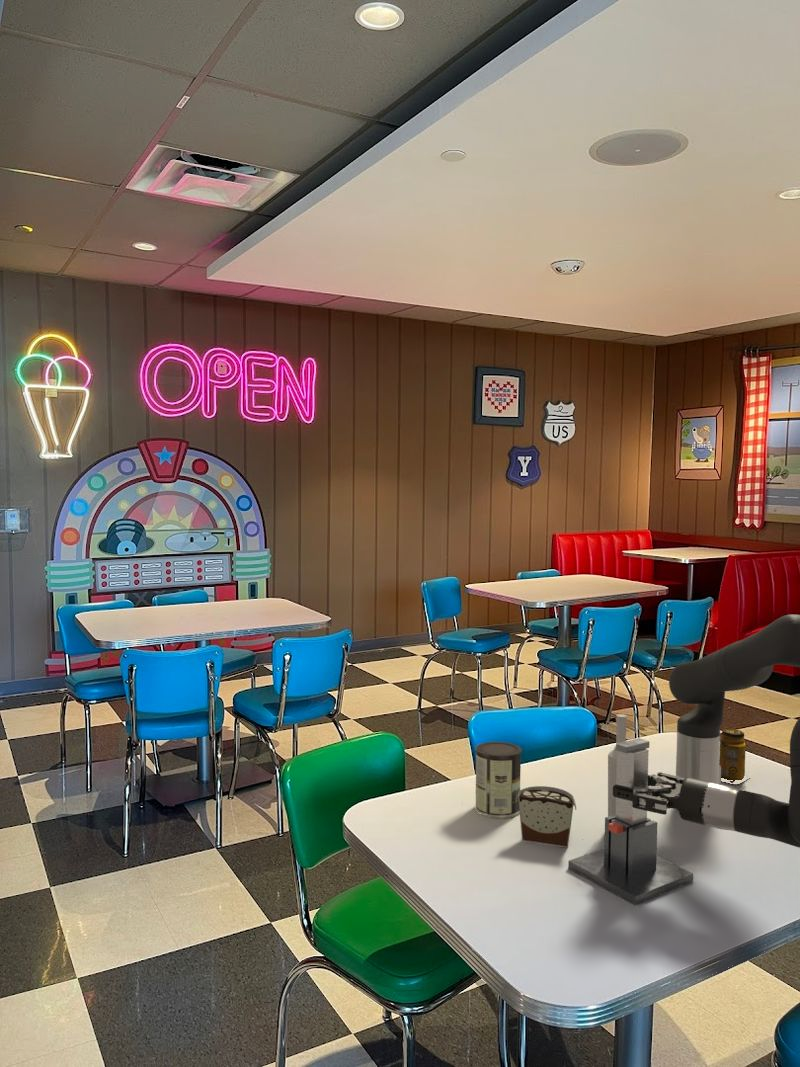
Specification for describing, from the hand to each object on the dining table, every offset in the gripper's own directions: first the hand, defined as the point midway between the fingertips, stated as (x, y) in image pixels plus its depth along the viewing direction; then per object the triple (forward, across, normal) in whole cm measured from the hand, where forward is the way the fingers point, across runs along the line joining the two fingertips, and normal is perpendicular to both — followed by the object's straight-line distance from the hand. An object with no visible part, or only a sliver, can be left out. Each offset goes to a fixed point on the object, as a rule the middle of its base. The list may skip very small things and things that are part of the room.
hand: (622, 783), depth 149 cm
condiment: (-3, -65, +17) cm, 68 cm away
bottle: (+7, -17, +17) cm, 25 cm away
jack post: (-2, 0, +15) cm, 15 cm away
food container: (+18, -5, +17) cm, 25 cm away
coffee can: (+33, -12, +17) cm, 39 cm away
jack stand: (-2, 0, +17) cm, 17 cm away
